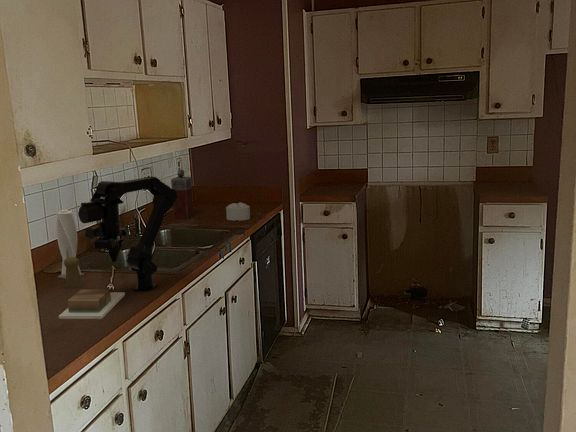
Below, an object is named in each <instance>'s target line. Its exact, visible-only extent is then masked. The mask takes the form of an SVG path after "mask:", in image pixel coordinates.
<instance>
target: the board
mask: <svg viewBox="0 0 576 432" xmlns="http://www.w3.org/2000/svg"><path fill="white" fill-rule="evenodd" d="M110 294H111V301H110V302H109V303H108V304H107V305H106V306H105V307H104V308H103V309H102V310H101V311H100V312H99V313H69V310H68V307H67V308H66V309H65V310H64V311H63V312H62V313H60V314H59V315H58V320H102V319H104V317H105V316H106V315H107V314H108V313H109V312H111V310H112V309H113V308H114V307H115V305H116V306H117V304H118V303H119V302H120V301H121V300H122V299H123V298H124V297H125V295H126V293H125V292H124V291H123V292H122V291H121V292H120V291H119V292H118V291H117V292H115V291H114V292H111V291H110Z"/></svg>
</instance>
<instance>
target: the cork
mask: <svg viewBox="0 0 576 432" xmlns="http://www.w3.org/2000/svg"><path fill="white" fill-rule="evenodd" d="M79 263H80V260H79V259H78V257H69V258H66V259H65V260H64V265H65V267H66V279H65V289H68V290H69V289H71V290H72V289H79V288H81V287H82V286H83V282H82V278H81V277H82V276H80V273H79V269H78V265H79Z"/></svg>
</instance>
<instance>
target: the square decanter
mask: <svg viewBox="0 0 576 432" xmlns="http://www.w3.org/2000/svg"><path fill="white" fill-rule="evenodd" d="M192 179H193V178H192V176H185V170H184V169H178V171H177V176H176V177H173V178H171V180H170V182H171V183H170V184H171V187H170V188H171V189H174V190H175V191H176V193H177V200H176V202H175V203H174V205H173V207H172V214H173V215H172V218H173V220H189V219H191V218H194V216H195V215H194V214H195V213H194V198H193V182H192V181H193V180H192Z"/></svg>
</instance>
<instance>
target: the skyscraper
mask: <svg viewBox="0 0 576 432" xmlns="http://www.w3.org/2000/svg"><path fill="white" fill-rule="evenodd" d="M55 212H56V238H57V244H58V249H59V251H60V252H59V253H60V255H61V258H62V262H61V263H62V264H61V274H60V275H58V276H57V278H59V279H64V280H66V267H65V265H64V260H65V259H66V258H69V257H76V256H77V251H78V231H77V226H76V221H75V219H74V216H73V209H72V208H71V209H70V210H69V209H61V210H59V206H58V205H56V211H55ZM76 258H77V257H76ZM78 269H79V273H80V277H82V276H83V275H85V273H84V272H81V269H80V265H79V264H78Z"/></svg>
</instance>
